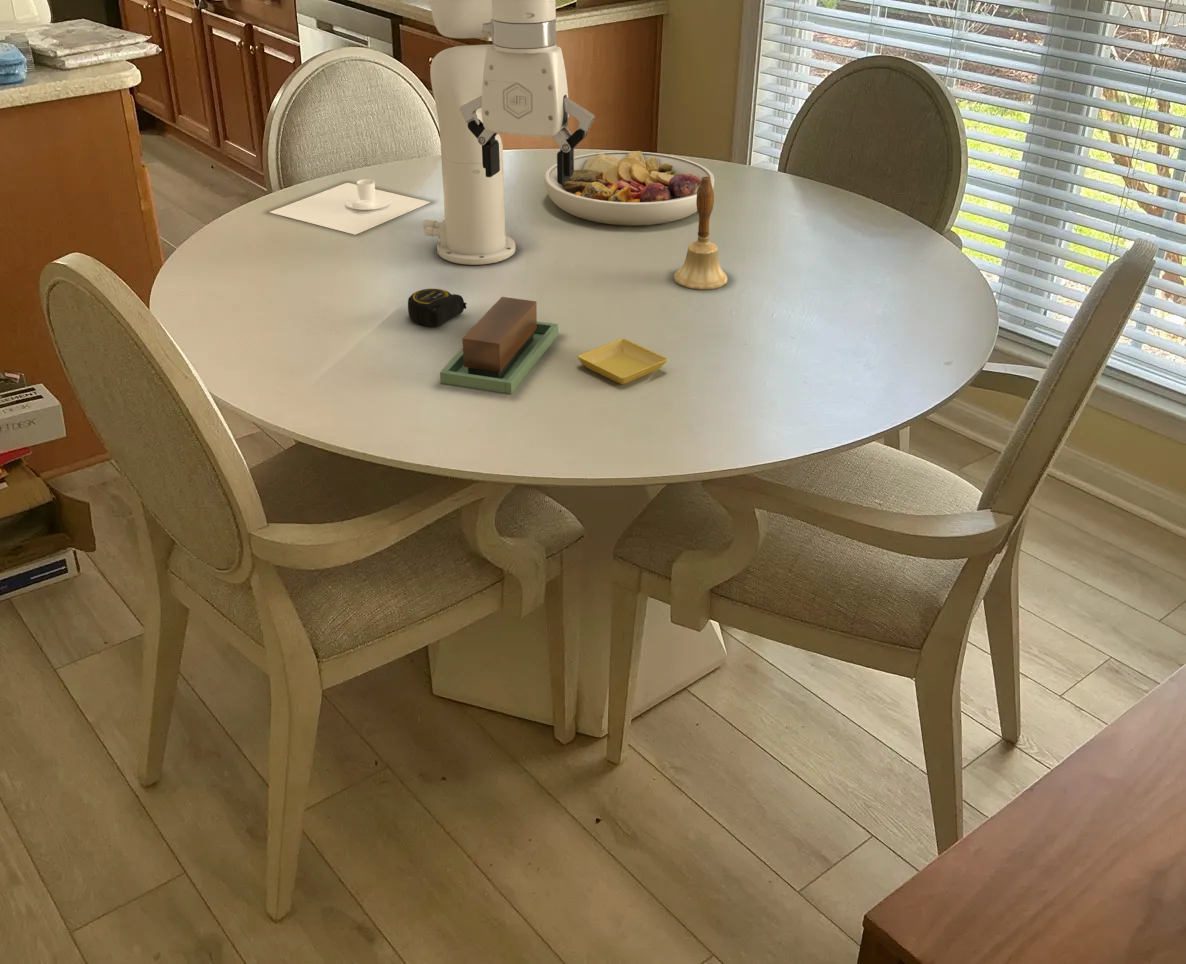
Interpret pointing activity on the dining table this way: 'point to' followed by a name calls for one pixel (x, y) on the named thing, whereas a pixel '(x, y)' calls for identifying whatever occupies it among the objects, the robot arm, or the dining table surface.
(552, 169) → the bowl
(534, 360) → the tray
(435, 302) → the tape measure
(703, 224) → the hand bell
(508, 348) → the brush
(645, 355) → the yellow flat tray
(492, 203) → the robot arm
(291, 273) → the dining table surface
